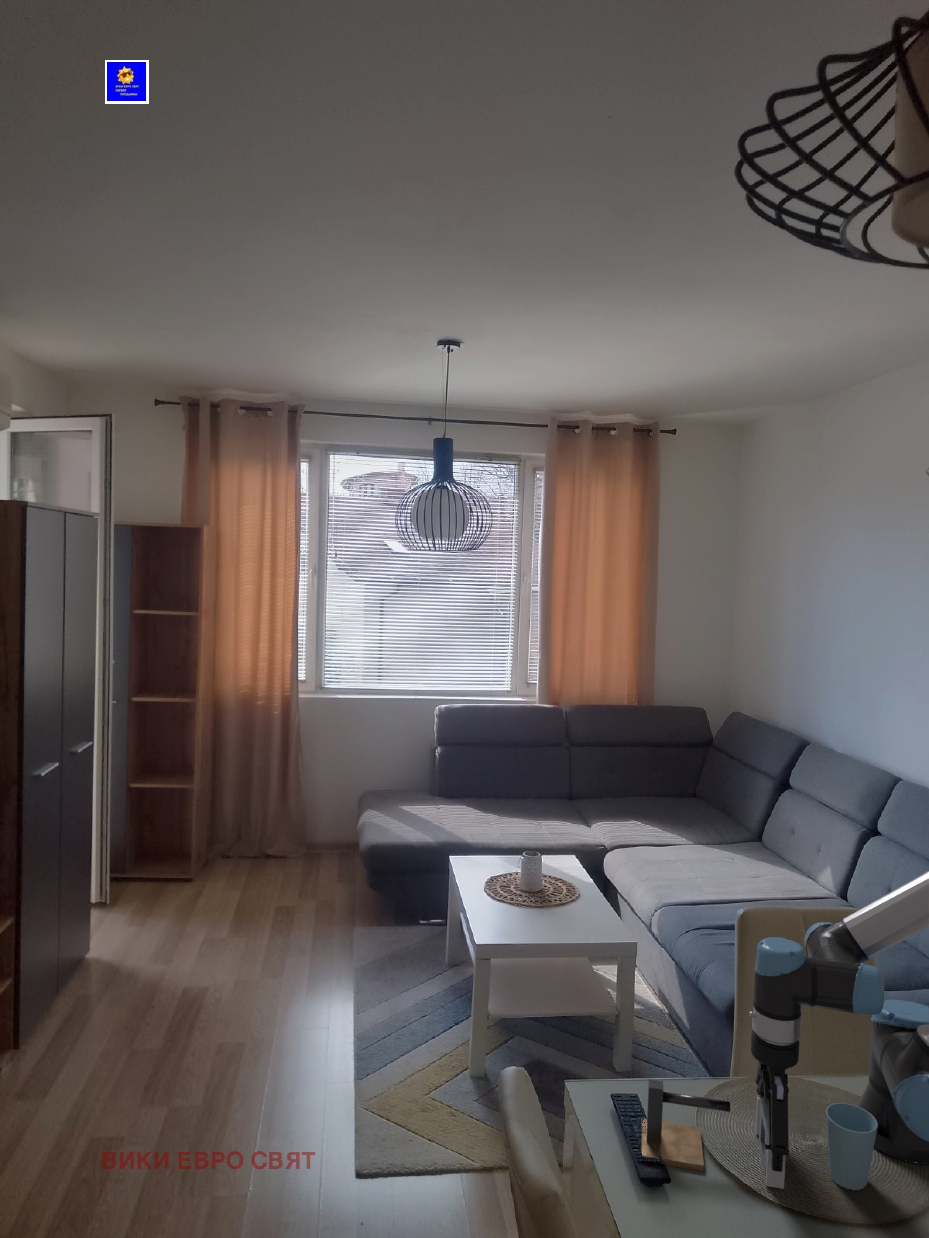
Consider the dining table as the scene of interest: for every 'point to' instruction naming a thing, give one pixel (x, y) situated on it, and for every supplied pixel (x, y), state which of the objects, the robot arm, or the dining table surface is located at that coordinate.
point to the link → (763, 1132)
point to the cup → (850, 1144)
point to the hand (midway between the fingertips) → (768, 1159)
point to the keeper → (674, 1129)
